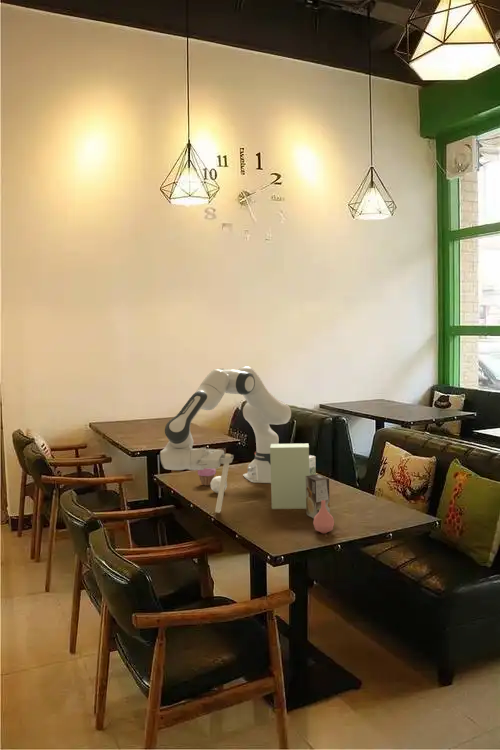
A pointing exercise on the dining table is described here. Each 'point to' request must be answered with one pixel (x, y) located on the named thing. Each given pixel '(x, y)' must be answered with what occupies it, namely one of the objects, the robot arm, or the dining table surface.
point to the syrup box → (312, 465)
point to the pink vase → (323, 520)
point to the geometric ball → (216, 484)
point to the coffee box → (316, 494)
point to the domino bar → (222, 485)
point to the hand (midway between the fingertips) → (232, 458)
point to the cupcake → (206, 475)
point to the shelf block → (289, 475)
